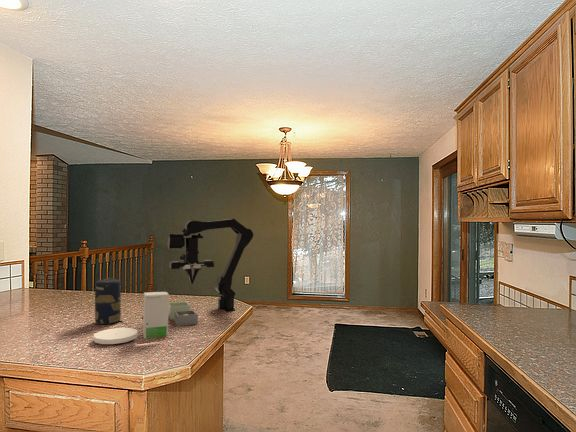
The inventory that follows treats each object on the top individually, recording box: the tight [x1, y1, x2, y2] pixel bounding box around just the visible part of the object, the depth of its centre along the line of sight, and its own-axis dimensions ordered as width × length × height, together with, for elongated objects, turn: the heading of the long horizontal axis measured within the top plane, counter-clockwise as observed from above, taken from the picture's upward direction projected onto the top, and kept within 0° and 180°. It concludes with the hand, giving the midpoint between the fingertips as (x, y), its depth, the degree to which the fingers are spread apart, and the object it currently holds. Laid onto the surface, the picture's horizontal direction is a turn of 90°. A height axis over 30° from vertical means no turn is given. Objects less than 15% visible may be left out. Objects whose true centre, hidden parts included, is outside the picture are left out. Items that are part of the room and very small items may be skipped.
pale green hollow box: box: [168, 300, 191, 321], centre depth 169 cm, size 8×8×6 cm
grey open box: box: [174, 309, 199, 327], centre depth 159 cm, size 8×8×4 cm
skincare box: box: [142, 291, 170, 340], centre depth 143 cm, size 8×7×16 cm
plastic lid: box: [93, 327, 139, 345], centre depth 139 cm, size 14×14×2 cm
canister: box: [94, 277, 122, 325], centre depth 162 cm, size 10×10×18 cm
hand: (191, 283), depth 178 cm, fingers closed
